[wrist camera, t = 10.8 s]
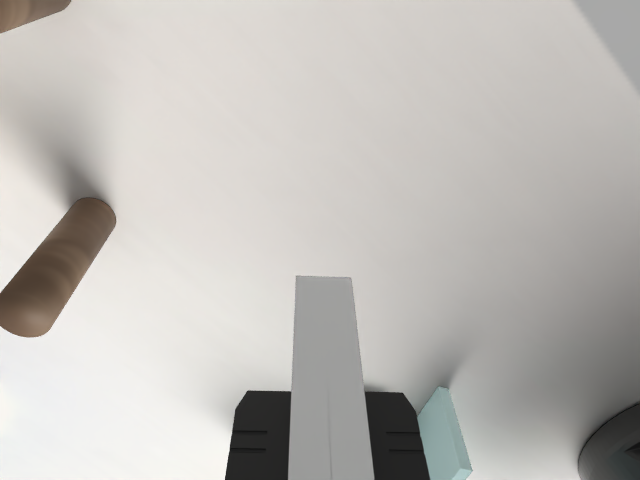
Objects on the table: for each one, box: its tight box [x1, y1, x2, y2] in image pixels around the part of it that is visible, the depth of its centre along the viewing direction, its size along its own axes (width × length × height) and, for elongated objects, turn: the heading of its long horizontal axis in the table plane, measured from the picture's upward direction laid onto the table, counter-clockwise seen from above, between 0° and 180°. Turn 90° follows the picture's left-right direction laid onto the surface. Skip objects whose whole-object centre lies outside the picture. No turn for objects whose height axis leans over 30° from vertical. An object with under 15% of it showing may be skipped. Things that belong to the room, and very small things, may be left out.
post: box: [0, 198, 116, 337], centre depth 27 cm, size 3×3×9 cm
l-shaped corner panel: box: [417, 386, 473, 480], centre depth 38 cm, size 12×12×8 cm
